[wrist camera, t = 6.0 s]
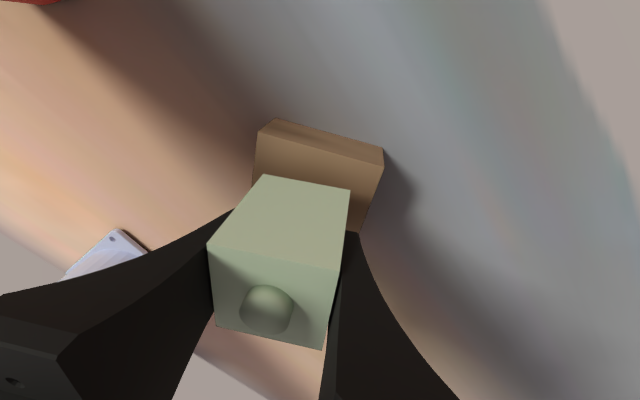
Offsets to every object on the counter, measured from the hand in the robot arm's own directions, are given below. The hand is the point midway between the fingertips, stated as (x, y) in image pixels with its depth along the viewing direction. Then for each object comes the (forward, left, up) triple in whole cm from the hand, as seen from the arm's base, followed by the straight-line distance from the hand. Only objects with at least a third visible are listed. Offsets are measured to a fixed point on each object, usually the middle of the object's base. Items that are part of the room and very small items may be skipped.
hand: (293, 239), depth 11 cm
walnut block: (0, 0, -6) cm, 6 cm away
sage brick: (0, 0, -2) cm, 2 cm away
